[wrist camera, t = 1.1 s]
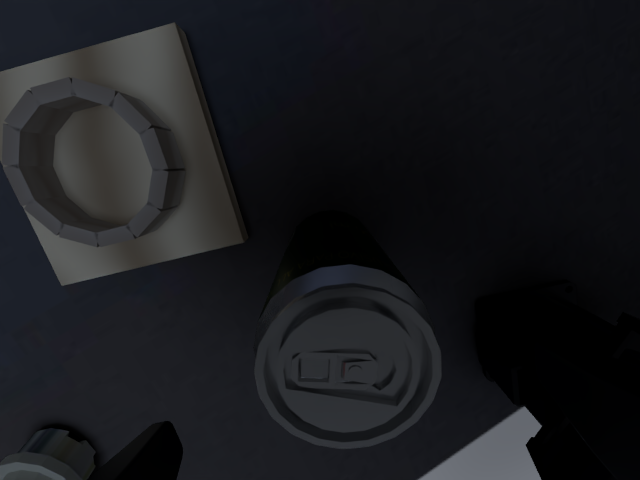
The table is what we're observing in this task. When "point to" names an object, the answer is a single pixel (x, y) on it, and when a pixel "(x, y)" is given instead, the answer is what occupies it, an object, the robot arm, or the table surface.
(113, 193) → the socket board
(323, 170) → the table surface
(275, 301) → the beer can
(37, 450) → the grey elongated piece
